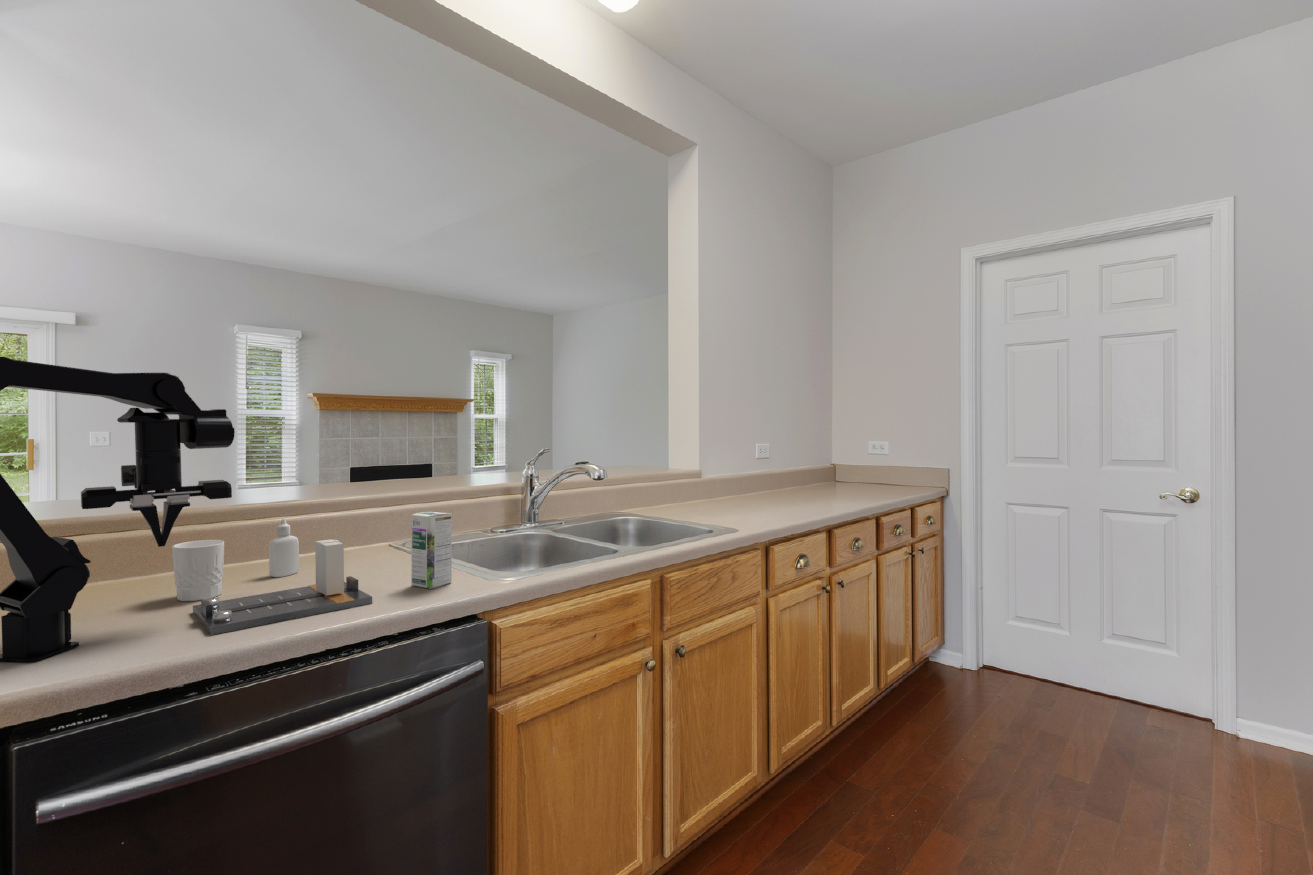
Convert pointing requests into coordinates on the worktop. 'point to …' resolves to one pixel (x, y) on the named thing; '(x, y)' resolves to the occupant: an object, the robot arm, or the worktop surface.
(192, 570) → the white cup
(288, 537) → the eye dropper bottle
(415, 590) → the worktop surface
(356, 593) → the board
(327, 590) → the fader
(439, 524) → the syrup box
